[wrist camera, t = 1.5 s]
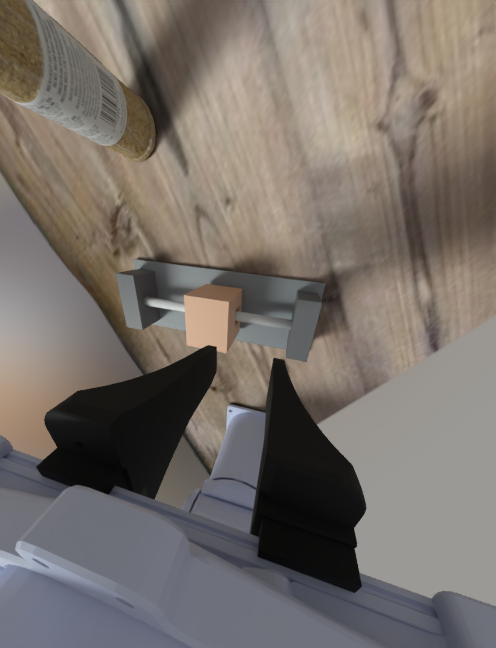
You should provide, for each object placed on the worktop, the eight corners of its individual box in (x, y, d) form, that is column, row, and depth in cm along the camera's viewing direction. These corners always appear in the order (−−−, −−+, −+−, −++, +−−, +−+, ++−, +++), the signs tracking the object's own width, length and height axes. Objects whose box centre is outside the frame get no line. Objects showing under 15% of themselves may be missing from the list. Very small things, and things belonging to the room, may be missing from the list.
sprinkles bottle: (117, 82, 15) (-487, -463, 3) (165, 114, 16) (-256, -301, 4) (109, 147, 18) (-289, -55, 6) (150, 174, 18) (-148, 37, 6)
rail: (325, 283, 18) (331, 292, 15) (307, 351, 22) (309, 371, 18) (136, 259, 22) (109, 262, 18) (146, 321, 25) (124, 333, 22)
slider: (242, 288, 19) (228, 302, 15) (239, 331, 22) (226, 353, 17) (206, 283, 20) (183, 295, 16) (207, 325, 22) (187, 345, 18)
